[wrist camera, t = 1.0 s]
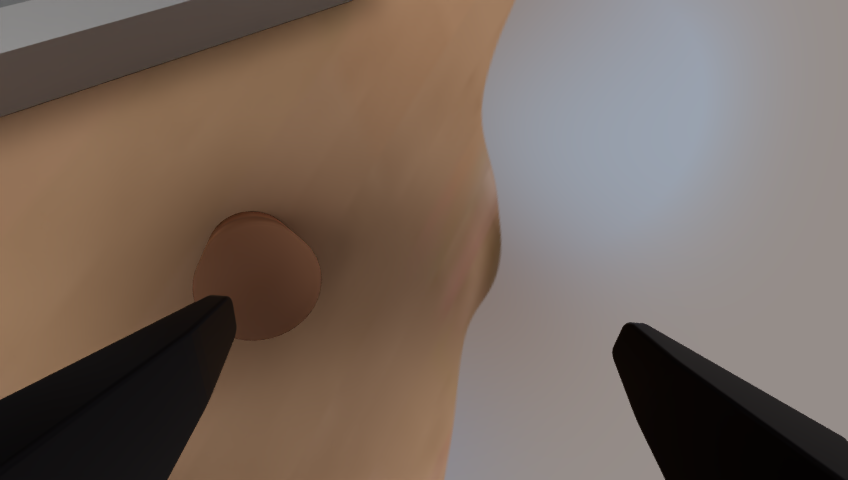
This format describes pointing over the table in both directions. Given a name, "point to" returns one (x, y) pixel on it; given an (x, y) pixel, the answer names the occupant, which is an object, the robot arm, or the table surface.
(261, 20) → the socket box
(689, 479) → the robot arm
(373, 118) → the table surface
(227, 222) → the peg
